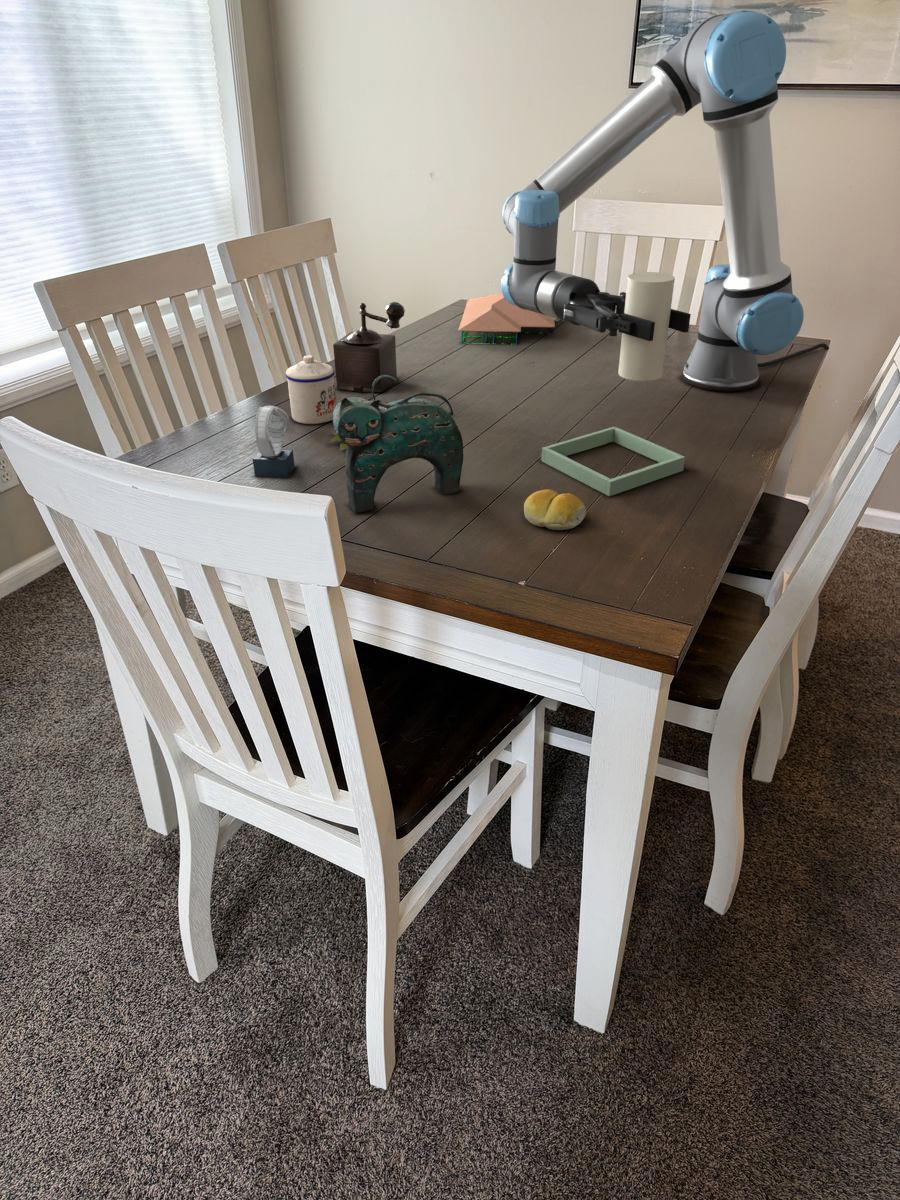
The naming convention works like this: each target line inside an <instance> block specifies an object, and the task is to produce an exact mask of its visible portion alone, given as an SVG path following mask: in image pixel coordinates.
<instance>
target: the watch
mask: <svg viewBox="0 0 900 1200" xmlns="http://www.w3.org/2000/svg"><path fill="white" fill-rule="evenodd" d="M289 420H290V417H289V415H288V413H287V412H286V411H285V410H284V409H282V408H281V407H278V406H276V405H264V406H261V407H260V406H259V407H258V409H257V411H256V414H255V421H254V431H255V432H254V433H255V435H254V436H255V444H256V447H257V449H258V451H257V452H256V454H255V455H254V456H253V458H252V463H253V464H252V466H253V472H254V477H257V478H261V477H262V478H281V479H284V478H285V479H288V478H289V476H291V473H292V472H293V471H294V469H295V468H296V465H295V457H294V449H283V447H284V442H285V434H286V433H287V427H288V422H289Z"/></svg>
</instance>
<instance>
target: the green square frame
mask: <svg viewBox="0 0 900 1200" xmlns="http://www.w3.org/2000/svg"><path fill="white" fill-rule="evenodd" d="M610 443H615V444H617V445H619V446H621V447H624V448H626V449H628V450H630V451H633V452H636V453H637V454H639V455H642V456H644V457H646V458H649V459H650V460H652V461H655V462H657V463H654V464H652V465H648V466H646V467H642V468H639V469H637V470H634V471H630V472H627V473H624V474H622V475H619V476H616V477H612V478H609V477H608V476H606V475H604V474H602V473H600V472H597V471H596V470H593V469H591V468H589V467H587V466H586V465H583V464H581V463H580V462H577V461H575V460H573V459H571V458H569V457H568V456H571V455H574V454H578V453H581V452H584V451H588V450H591V449H594V448H597V447H600V446H604V445H608V444H610ZM685 459H686V456H684V455H682V454H679V453H678V452H675V451H673V450H671V449H668V448H666V447H664V446H661V445H659V444H656V443H654V442H652V441H649V440H647V439H645V438H643V437H640V436H638V435H635V434H634V433H631V432H629V431H627V430H624V429H621V428H619V427H616V426H611V427H608V428H605V429H601V430H598V431H594V432H590V433H587V434H584V435H580V436H578V437H574V438H571V439H568V440H567V439H566V440H564V441H560V442H557V443H553V444H550V445H547V446H543V447H541V463H544V464H546V465H547V466H549V467H552V468H553V469H555V470H557V471H559V472H561V473H563V474H565V475H567V476H569V477H571V478H573V479H574V480H577V481H578V482H581V483H582V484H584V485H586V486H588V487H590V488H591V489H594V490H596V491H598V492H599V493H601V494H604V495H606V496H607V497H612V496H614V495H617V494H621V493H623V492H626V491H629V490H632V489H635V488H637V487H641V486H644V485H646V484H649V483H653V482H654V481H657V480H660V479H663V478H666V477H670V476H672V475H675V474H678V473H680V472H683V471H684V467H685V461H686V460H685Z"/></svg>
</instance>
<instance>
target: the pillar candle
mask: <svg viewBox="0 0 900 1200" xmlns="http://www.w3.org/2000/svg"><path fill="white" fill-rule="evenodd" d="M675 280H676V277H675V276H674V275H672V274H670V273H666V272H665V273H664V272H658V271H657V272H655V271H641V272H634V273H630V274H628V275H627V281H626V290H625V293H626V299H625V310H624V313H625V314H628V315H632V316H635V317H639V318H642V319H646V320H649V321H653V322H655V327H654V335H653V341H647V340H644V339H640V338H637V337H634V336H631V335H627V334H624V333H622V334H621V342H620V349H619V350H620V351H619V352H620V353H619V361H618V372H617V373H618V376H619V377H621V378H622V379H625V380H628V381H634V382H651V381H657V380H660V379H661V378H662V377H663V373H664V366H665V359H666V350H667V343H668V336H669V328H668V327H669V320H670V312H671V309H672V304H673V303H672V302H673V297H674V296H673V295H674V288H675Z"/></svg>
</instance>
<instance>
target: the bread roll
mask: <svg viewBox="0 0 900 1200" xmlns="http://www.w3.org/2000/svg"><path fill="white" fill-rule="evenodd" d="M523 512H524V513H523V514H524V517H525V519H526V520H527V522H529V523H530V524H532V525H534V526H536V527H539V528H544V527H545V528H546V529H549V530H552V531H563V530H564V531H565V530H571V529H574V528H576V527H577V526H579V525H580V524H581V523H582V522H583V520H584V519H585V517H586V516H587V515H586V514H587V508H586V506H585V504H584V502H583V501H582V499H580V498H579V497H577V496H576V495H575V494H572V493H569V492H567V493H566V492H565V493H564V492H563V493H561V494H560V493H558V492H557V491H555V490H553V489H541V490H537V491H535V492H533V493H531V494H530V495H529V496H527V498H526V499H525V501H524V504H523Z"/></svg>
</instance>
